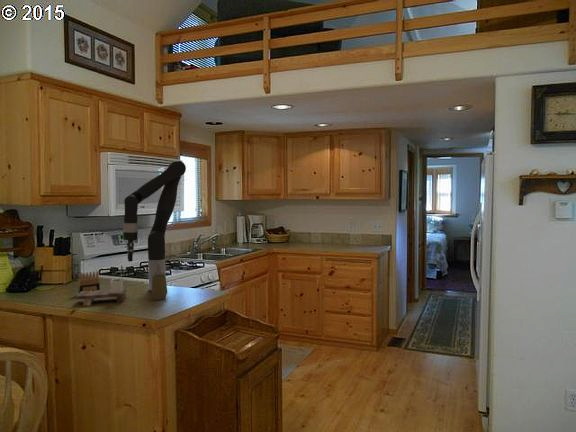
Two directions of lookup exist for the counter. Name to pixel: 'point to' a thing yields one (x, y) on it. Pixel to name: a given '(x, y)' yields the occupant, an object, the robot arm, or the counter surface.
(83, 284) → the ammunition clip
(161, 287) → the squeeze bottle
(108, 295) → the subfloor plank
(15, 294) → the counter surface
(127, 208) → the robot arm
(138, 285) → the counter surface
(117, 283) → the stud finder
